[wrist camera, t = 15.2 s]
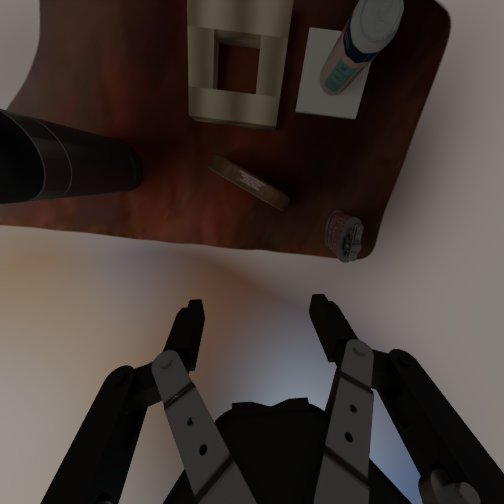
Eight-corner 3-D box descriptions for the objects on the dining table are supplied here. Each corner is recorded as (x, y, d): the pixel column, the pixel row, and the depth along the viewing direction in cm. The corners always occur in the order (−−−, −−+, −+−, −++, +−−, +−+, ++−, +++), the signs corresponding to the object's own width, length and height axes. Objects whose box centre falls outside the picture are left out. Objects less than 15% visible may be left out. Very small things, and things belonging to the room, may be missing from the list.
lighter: (338, 247, 39) (362, 269, 30) (322, 247, 39) (341, 268, 30) (345, 210, 36) (374, 221, 27) (328, 209, 36) (351, 220, 27)
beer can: (352, 55, 27) (415, -30, 16) (348, 95, 29) (402, 43, 18) (319, 59, 28) (359, -21, 16) (317, 98, 29) (352, 50, 18)
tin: (213, 170, 35) (199, 168, 27) (220, 154, 34) (208, 147, 26) (280, 209, 37) (285, 218, 29) (289, 195, 36) (296, 200, 28)
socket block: (195, 120, 32) (188, 115, 29) (194, 6, 26) (187, -14, 24) (274, 130, 32) (275, 126, 29) (290, 18, 26) (293, -1, 24)
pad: (295, 112, 31) (295, 111, 30) (309, 30, 27) (309, 27, 26) (354, 119, 31) (355, 118, 30) (376, 38, 27) (378, 36, 26)
